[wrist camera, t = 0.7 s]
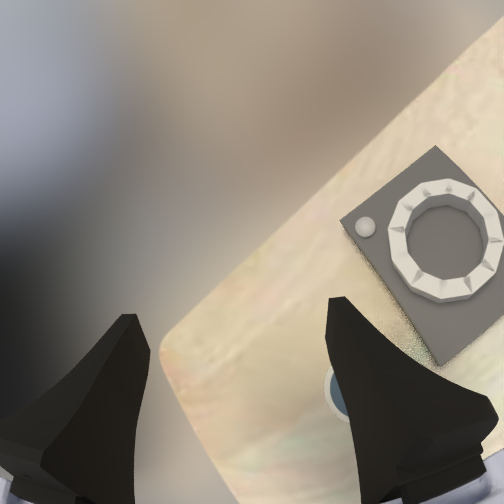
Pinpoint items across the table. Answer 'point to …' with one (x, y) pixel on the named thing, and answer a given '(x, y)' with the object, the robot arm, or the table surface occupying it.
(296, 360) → the table surface
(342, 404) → the lens
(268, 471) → the table surface
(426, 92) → the table surface
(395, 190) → the camera body
